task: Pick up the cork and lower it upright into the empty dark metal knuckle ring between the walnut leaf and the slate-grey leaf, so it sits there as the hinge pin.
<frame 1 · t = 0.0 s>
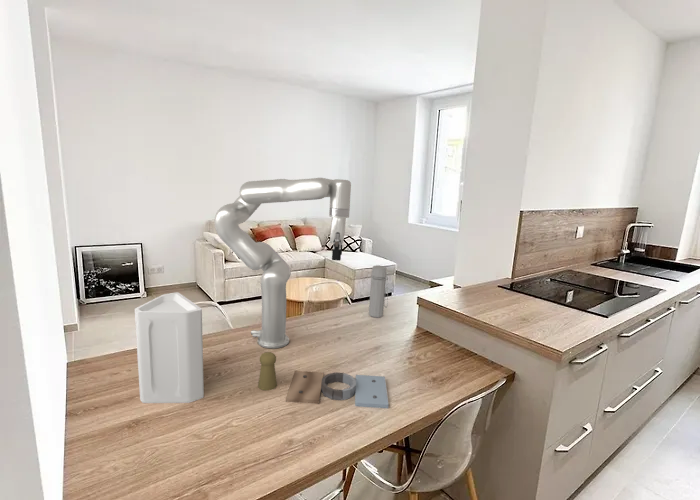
hand: (337, 257, 144), 37 cm above the table, tool pointing down, fingers open, 9 cm apart
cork: (267, 385, 121), on the table
leaf a: (338, 389, 121), on the table
water bottle: (377, 316, 186), on the table
leaf b: (364, 387, 120), on the table
white triangular canister: (167, 392, 114), on the table
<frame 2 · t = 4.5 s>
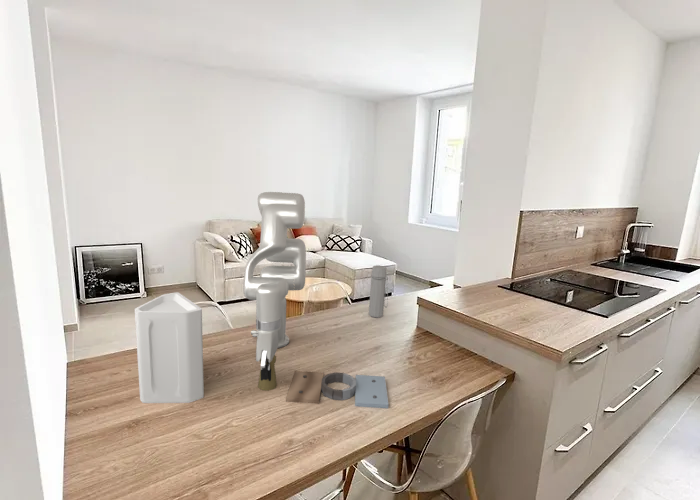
hand: (267, 375, 120), 3 cm above the table, tool pointing down, fingers closed on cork, 3 cm apart
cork: (267, 385, 121), on the table, touching gripper
everything else where it was.
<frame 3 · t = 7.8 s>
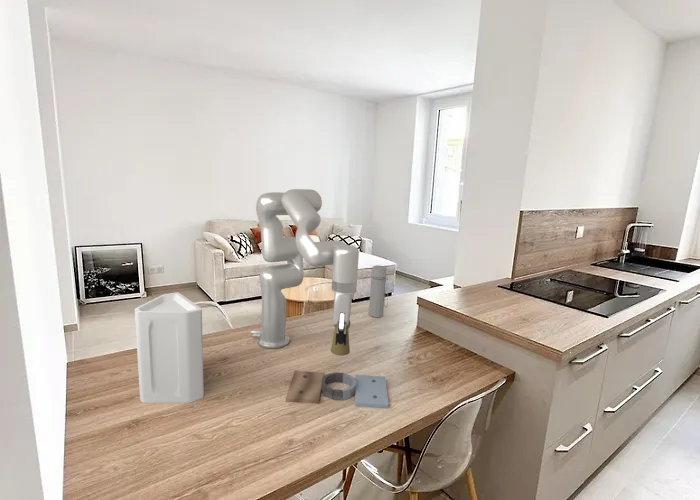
hand: (340, 341, 117), 17 cm above the table, tool pointing down, fingers closed on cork, 3 cm apart
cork: (340, 351, 118), point 13 cm above the table, touching gripper
everything else where it was.
when the fingers open (4 cm above the table, at t = 11.1 s): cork stays where it is, on the table.
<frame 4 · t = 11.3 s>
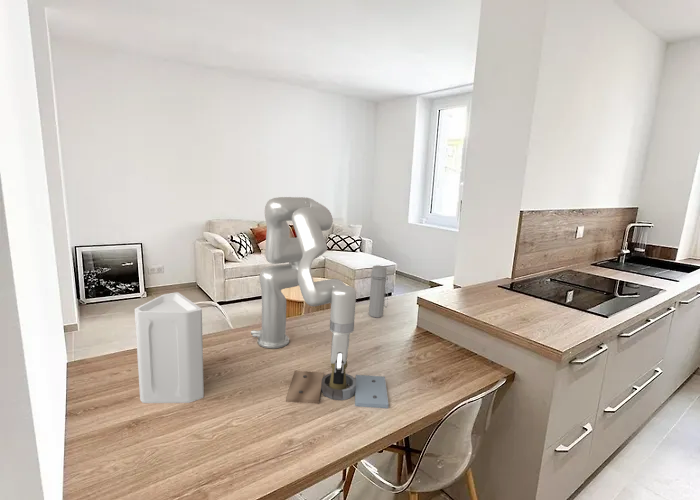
hand: (338, 377, 120), 4 cm above the table, tool pointing down, fingers open, 5 cm apart
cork: (337, 391, 120), on the table, touching gripper
everything else where it was.
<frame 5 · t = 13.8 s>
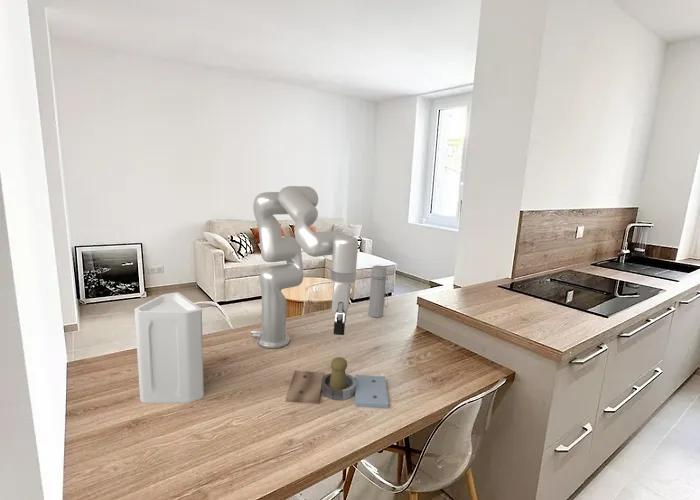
hand: (339, 327, 118), 21 cm above the table, tool pointing down, fingers open, 9 cm apart
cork: (337, 391, 120), on the table
everything else where it was.
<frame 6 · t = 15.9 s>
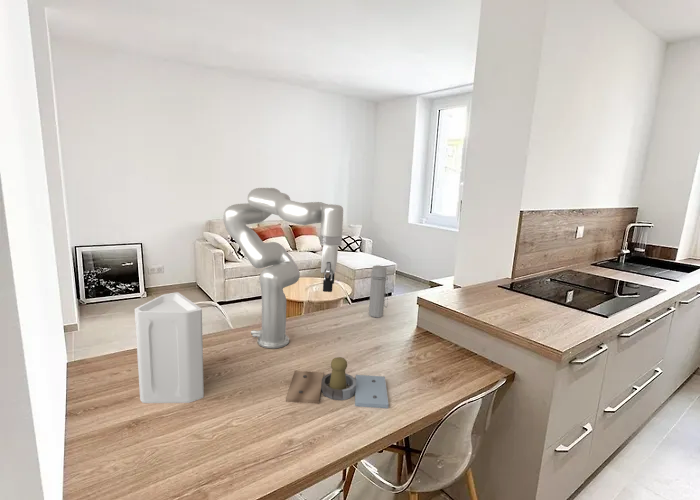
hand: (328, 287, 134), 28 cm above the table, tool pointing down, fingers open, 9 cm apart
nothing on the table moved.
at the end: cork 0.4 cm off-centre on the leaf a, point 0.0 cm above the leaf a's base; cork tilted 0°; the gripper is holding nothing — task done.
